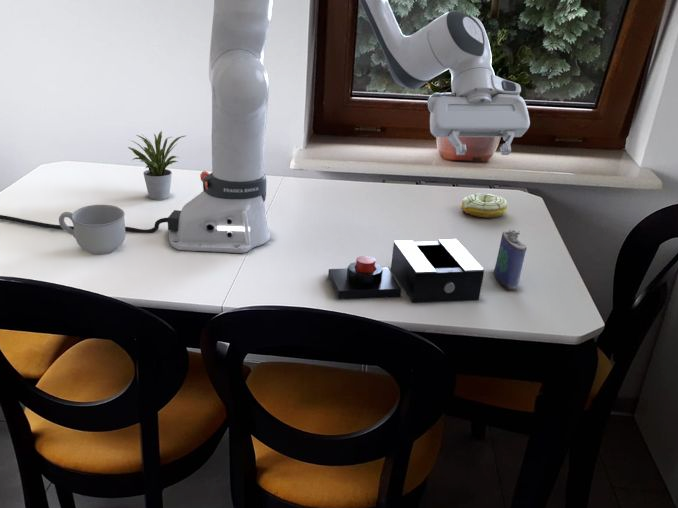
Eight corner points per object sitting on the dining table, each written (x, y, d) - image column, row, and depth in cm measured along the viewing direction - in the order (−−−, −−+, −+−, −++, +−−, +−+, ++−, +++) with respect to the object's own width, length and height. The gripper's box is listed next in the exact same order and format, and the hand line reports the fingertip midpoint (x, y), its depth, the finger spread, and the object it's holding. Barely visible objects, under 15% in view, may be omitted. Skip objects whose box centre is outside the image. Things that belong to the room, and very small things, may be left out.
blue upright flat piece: (519, 291, 136) (530, 239, 131) (504, 291, 136) (515, 239, 131) (503, 271, 144) (513, 221, 139) (489, 271, 144) (499, 221, 139)
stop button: (357, 274, 133) (358, 263, 132) (353, 266, 136) (354, 256, 135) (376, 273, 133) (377, 263, 132) (371, 265, 136) (372, 255, 135)
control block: (338, 299, 131) (339, 280, 129) (328, 277, 140) (329, 258, 138) (400, 297, 133) (402, 278, 131) (386, 275, 141) (388, 256, 139)
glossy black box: (413, 304, 130) (417, 273, 127) (390, 269, 144) (393, 240, 140) (487, 302, 132) (493, 271, 129) (458, 267, 145) (462, 238, 142)
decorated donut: (463, 203, 181) (465, 188, 179) (506, 208, 178) (509, 194, 176) (458, 216, 172) (461, 201, 170) (504, 221, 169) (507, 206, 167)
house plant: (176, 183, 189) (173, 121, 181) (199, 198, 179) (197, 133, 171) (126, 191, 182) (120, 127, 174) (147, 207, 172) (142, 140, 164)
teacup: (136, 243, 153) (133, 208, 148) (110, 262, 144) (106, 225, 140) (80, 234, 156) (76, 199, 152) (52, 252, 147) (46, 215, 143)
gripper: (431, 83, 141) (439, 145, 138) (527, 84, 144) (538, 145, 140) (421, 102, 147) (429, 161, 144) (514, 102, 150) (524, 161, 146)
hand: (484, 153), depth 142 cm, fingers open, 8 cm apart
